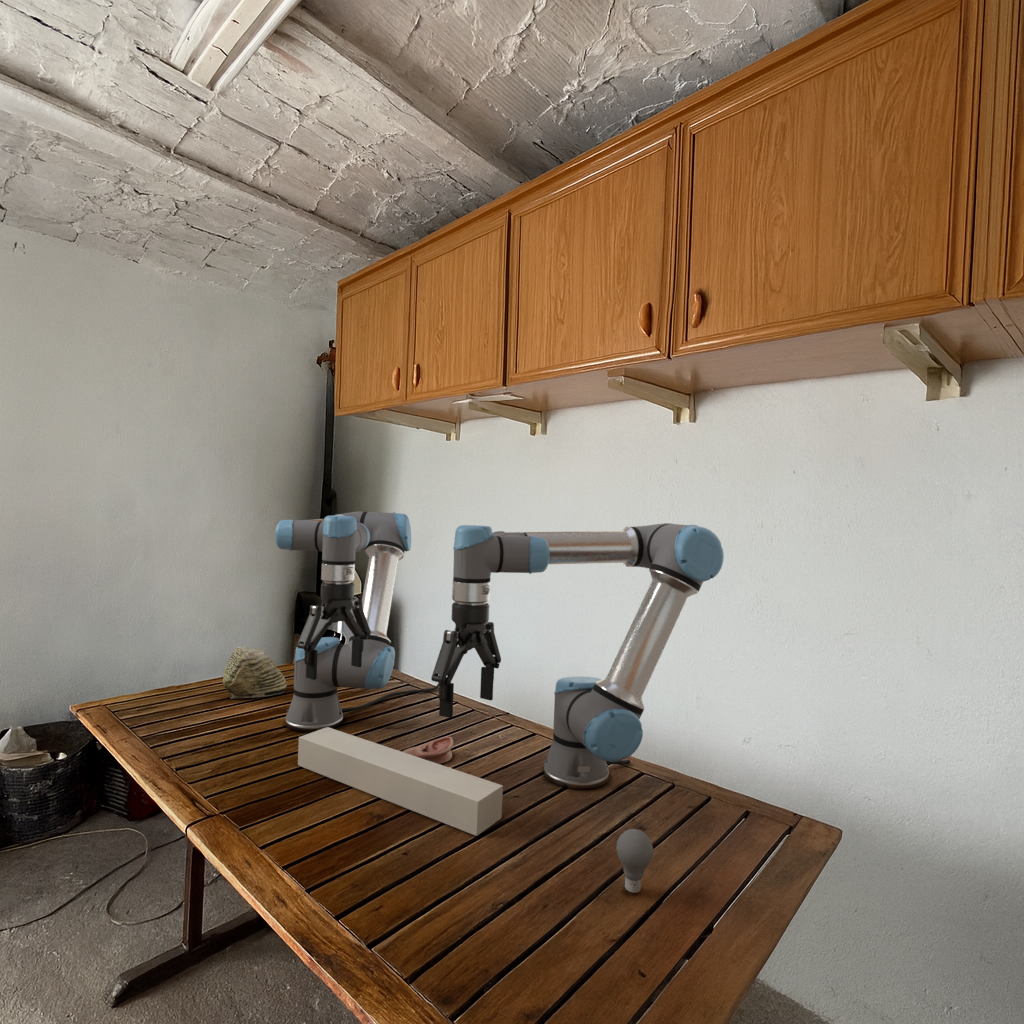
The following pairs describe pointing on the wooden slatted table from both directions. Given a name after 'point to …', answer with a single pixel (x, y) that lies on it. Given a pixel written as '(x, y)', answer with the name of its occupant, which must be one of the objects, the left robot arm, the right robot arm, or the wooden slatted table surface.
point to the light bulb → (634, 857)
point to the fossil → (252, 674)
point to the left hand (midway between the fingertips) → (334, 672)
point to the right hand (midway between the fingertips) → (467, 707)
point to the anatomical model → (433, 750)
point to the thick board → (403, 779)
